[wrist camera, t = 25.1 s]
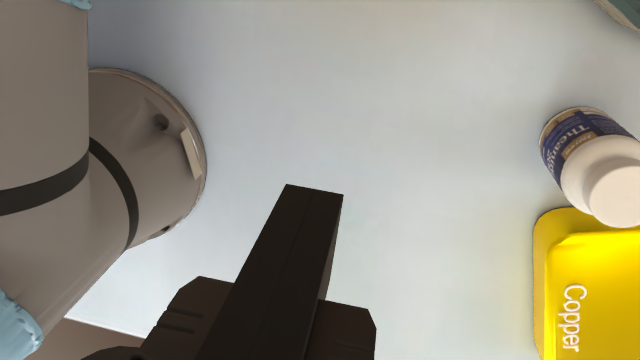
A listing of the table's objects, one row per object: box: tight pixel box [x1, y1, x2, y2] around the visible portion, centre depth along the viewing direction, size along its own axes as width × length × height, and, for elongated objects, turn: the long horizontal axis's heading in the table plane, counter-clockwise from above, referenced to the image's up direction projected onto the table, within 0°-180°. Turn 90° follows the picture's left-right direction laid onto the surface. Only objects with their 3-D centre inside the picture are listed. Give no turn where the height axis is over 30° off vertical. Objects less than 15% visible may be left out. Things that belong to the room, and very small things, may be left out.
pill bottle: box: [539, 107, 640, 228], centre depth 33 cm, size 5×5×10 cm
